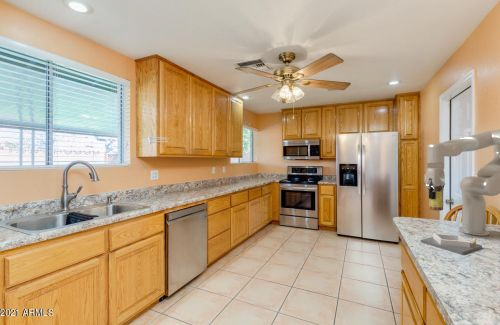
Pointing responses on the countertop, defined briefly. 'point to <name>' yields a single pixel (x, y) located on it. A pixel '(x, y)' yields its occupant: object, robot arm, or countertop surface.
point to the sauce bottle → (437, 199)
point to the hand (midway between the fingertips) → (436, 197)
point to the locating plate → (451, 248)
